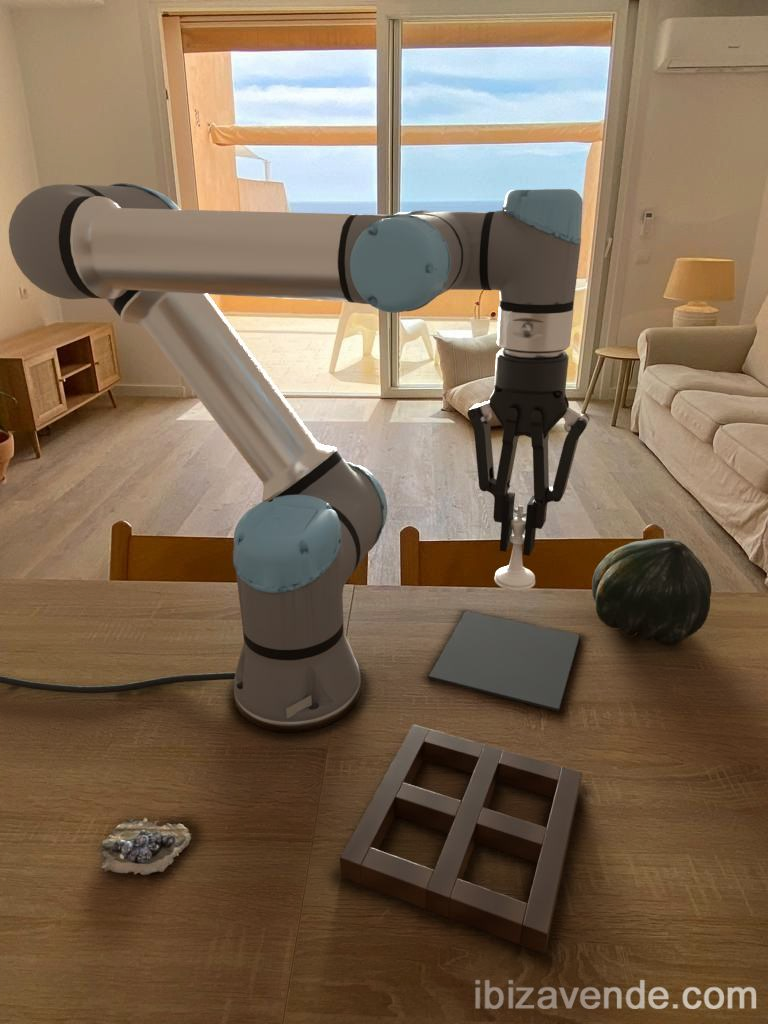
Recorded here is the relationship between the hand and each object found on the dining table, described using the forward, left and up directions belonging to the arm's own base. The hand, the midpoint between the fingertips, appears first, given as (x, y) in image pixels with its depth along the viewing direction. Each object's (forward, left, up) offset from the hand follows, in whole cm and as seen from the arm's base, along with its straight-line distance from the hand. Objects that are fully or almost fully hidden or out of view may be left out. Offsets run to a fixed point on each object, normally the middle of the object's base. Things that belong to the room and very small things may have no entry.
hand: (517, 548), depth 83 cm
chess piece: (0, 0, -5) cm, 5 cm away
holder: (+3, -28, -16) cm, 32 cm away
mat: (0, 0, -16) cm, 16 cm away
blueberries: (-24, -41, -16) cm, 50 cm away
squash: (+16, +14, -16) cm, 27 cm away
